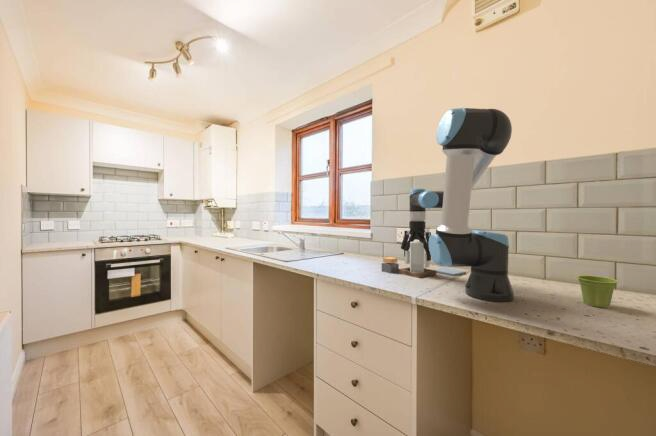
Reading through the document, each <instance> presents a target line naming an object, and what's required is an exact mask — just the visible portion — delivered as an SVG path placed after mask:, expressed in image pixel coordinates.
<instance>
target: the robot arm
mask: <svg viewBox="0 0 656 436" xmlns="http://www.w3.org/2000/svg"><path fill="white" fill-rule="evenodd" d="M512 131H513V127H512V122H511V119H510V118H509V116H508V115H507V114H506V113H505V112H503V111H502V110H499V109H498V108H472V107H471V108H470V107H469V108H468V107H460V108H459V107H458V108H451V109H449V110H447V111H446V112H445V113H444V114H443V115H442V117H441V119H440V121H439V124H438V127H437V131H436V142H437V144H438V145H439V146H441V147H442V149H441V150H442V153H443V154H444V155H445V156H446V159H445V173H444V185H443V191H432V190H426V189H425V188H411V189H410V191H409V196H408V198H409V215H408V216H409V223H408V225H409V226H408V227H409V230H404V233H403V234H404V236H403V239H402V242H401V246H400V249H401V250H403V251H404V252H403V256H404V257H405V258H404V264H405V265H408V264H409V265H410V242H415V240H417V241H418V242H421V243H423V247H424V251H425V253H424V268H426V269H429V268H430V265H431V264H430V263H431V260H432V261H433V263H434V264H435V265H436V266H439V267H444V268H451V267H453V268H456V267H457V268H458V267H459V268H460V267H463V268H464V267H466V268H467V267H470V273H469V277H468V278H467V281H466V284H465V286H464V287H465V289H464V291H465V294H466V295H467V296H469V297H472V298H475V299H480V300H484V301H491V302H511V301H513V300H514V299H515V297H514V296H515V293H514V289H513V285H512V284H511V280H510V278H509V248H510V244H509V237H508V236H507V235H506V234H505V233H500V232H499V233H498V232H492V231H483V230H475V229H471V228H470V227H469V218H470V208H471V206H470V205H471V197H472V195H471V194H472V190H473V188H474V187H475V185H476V184H477V183H478V181H479V180H480V178H481V177H482V176H483V174H484V173H485V172H486V170H487V169H488V168H489V166H490V165H491V163H492V162H493V160H495V158H496V156H500V155H501V154H502V153H503V152H504V151H505V149H506V148H507V146H508V145H509V142H510V140H511V137H512ZM426 209H442V210H441V221H440V224H439V225H437V227H436V228H435V233H432V232H431V231H426V223H427V222H426V221H425V220H426V211H427V210H426Z"/></svg>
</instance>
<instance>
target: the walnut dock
mask: <svg viewBox="0 0 656 436" xmlns="http://www.w3.org/2000/svg"><path fill="white" fill-rule="evenodd" d="M397 273H398V274H402V275H405V276H409V277H414V278H419V279H420V278H424V277H430V276H433V275H437V273H436V269H430V268H425V267H424V272H422V273H416V272H411V271H410V266H409V267H404V268H399V269H398V272H397Z"/></svg>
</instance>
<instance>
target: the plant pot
mask: <svg viewBox="0 0 656 436" xmlns="http://www.w3.org/2000/svg"><path fill="white" fill-rule="evenodd" d="M576 278H577V279H578V283H579V285H580V289H581V294H582V301H583V304H585V305H586V304H587V306H590V307H593V306H595V307H594V308H596V307H598V308H599V307H600V308H603V309H606V308H607V309H608V307H609V308H610V307H611V303H612V298H613V295H614V294H613V293H614V288H615V287H616V285H617V283H618V280H616V279H613V278H609V277H604V276H597V275H577V276H576Z"/></svg>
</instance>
